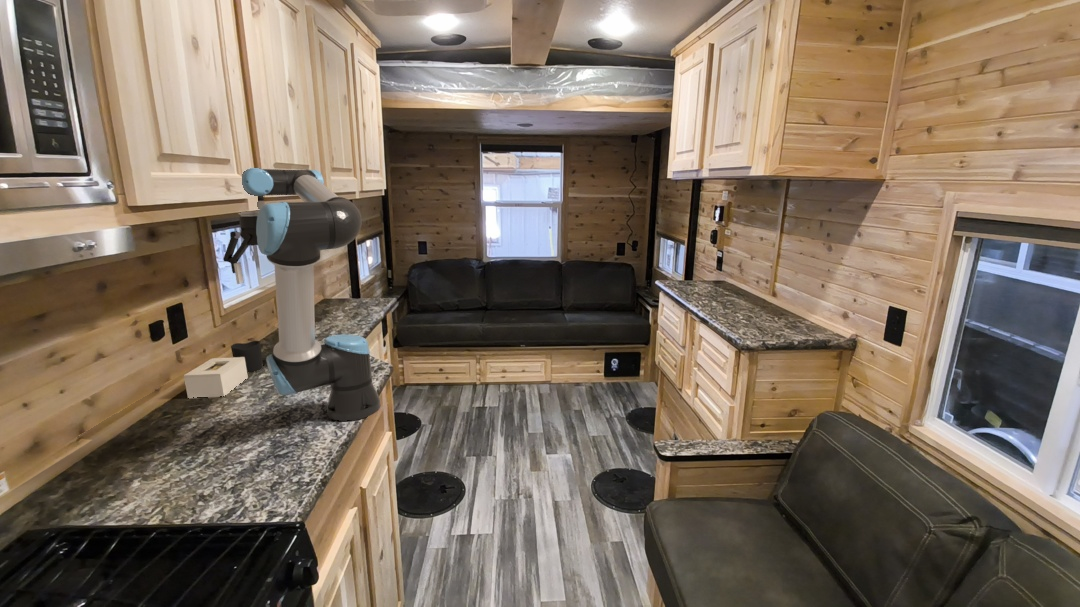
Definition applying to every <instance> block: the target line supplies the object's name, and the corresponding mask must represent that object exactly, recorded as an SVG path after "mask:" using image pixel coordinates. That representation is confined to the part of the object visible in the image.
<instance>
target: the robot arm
mask: <svg viewBox="0 0 1080 607" xmlns="http://www.w3.org/2000/svg"><path fill="white" fill-rule="evenodd" d="M259 168H260V167H259ZM259 168H250V169H247V170H246V171H244V172H243V174H242V185H243V188H244V190H245V191H246V192H247V193H248V194H250V195H254V196H258V202H257V207H258V209H260V210H256V211H247V212H241V213H238V212H237V214H238V215H240V216H239V217H238V220H239V227H240V231H237V230H234V231H231V232H230V237H229V238H230V239H229V241H228V245H227V247H226V250H225V253H224V255H223V259H222V260H223V262H227V263H230V267H231V271H232V274H234V275H235V278H236V279H235V280H236V284H237V285H241V284H243V283H244V281H245V280H244V275H243V269H242V262H240V261H239V260H240V259H241V257H242V256H243V255H244V253H245V252H246V250H247V249H248V248H249V247H251V246H257V247H258V250H259V252H260V253H261V254H263V255H264V256H265V255H266V259H267V261H268V262H269V263H271V264H272V265H274V275H275V276H274V277H275V279H274V280H275V293H276V294H275V296H276V310H277V311H276V312H277V326H278V327H277V328H278V342H277V343H276V344H275V345H274V346H273V349H272V350H273V352H272V353H273V354H271V353H270V354H269V355H267V356H266V359H265V360H266V365H267V369H268V372H269V375H270V377H271V380H272V383H273V385H274V388H275V389H276V392H277V393H278V394H279V395H281V396H288V395H289V396H290V395H294V394H298V393H301V392H306V391H309V390H313V389H317V388H320V387H325V386H328V385H330V392H329V396H328V397H329V398H328V400H327V406H326V413H327V414H326V415H327V417H328V418H329V419H330V420H333V421H337V420H339V421H338V422H348V421H347V420H352V421H358V420H361V419H365V418H368V417H370V416H372V415H374V414H376V413H377V412H378V411H379V410H380V409H381V405H382V404H381V398H380V395H379V394H378V392H377V389H376V388H375V385H374V383H373V379H372V378H373V377H372V376H373V375H372V367H371V357H370V356H371V355H370V353H371V351H370V349H369V341H368V340H367V339H366V338H365V337H363V336H359V335H356V334H335V335H330V336H327V337H325V339H324V343H323V344H321V343H320V342H319V340H317V339H316V324H315V321H316V319H315V278H314V277H315V274H314V273H315V272H314V271H315V270H314V267H315V264H317V263H318V262H319V261H320V260H321V251H324V250H334V249H335V250H336V249H339V248H343V247H345V246H347V245H349V244H350V243H351V242H353V241H354V240H355V239H356V238H357V236H358V235H359V233H360V232H361V228H362V224H363V220H362V219H363V217H362V215H361V214H362V213H361V212H360V209H359V208H358V207H357V206H356V204H355V203H353V202H352V201H351V200H349V199H348V198H346V197H342V196H339V195H337V194H336V193H335V192H333V191H332V190H331V189H330V188H329V187H327V186H326V185H325V180H324V177H323V175H322V173H321V172H320V171H319V170H316V169H315V170H313V169H308V168H307V169H279V168H278V169H275V168H273V169H271V168H267V169H266V168H260V169H259ZM263 196H264V197H263ZM265 196H297V197H298V198H299V199H301V200H302V201H295V202H294V201H292V202H290V201H289V202H288V201H287V202H286V201H279V202H275V203H274V202H273V203H271V202H270V203H267V204H266V201H265ZM240 238H242V239H243V241H242V242H241V243H240V246H239V247H238V249H237V250H236V247H237V245H238V241H239V239H240ZM235 250H236V251H235ZM234 252H235V253H234Z"/></svg>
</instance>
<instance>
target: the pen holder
mask: <svg viewBox="0 0 1080 607" xmlns="http://www.w3.org/2000/svg"><path fill="white" fill-rule="evenodd" d="M230 351H231V354H232V358H233V357H245V363H246V369H247V374H249V373H248V372H251V373H255V372H257V370H258V371H261V370H262V369H261V368H264V367H263V354H262V344H261V341H259V340H252V341H250V342H245V343H241V342H237V343H234V344H231V346H230ZM254 371H255V372H254Z"/></svg>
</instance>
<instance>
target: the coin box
mask: <svg viewBox="0 0 1080 607" xmlns="http://www.w3.org/2000/svg"><path fill="white" fill-rule="evenodd" d="M215 366H222V367H220V368H219V369H217V370H211V369H212V368H214V367H215ZM183 379H184V384H185V390H186V394H187V399H188V398H189V399H198V398H197V397H208V398H220V396H222V397H223V396H224V397H225V395H226V396H227V395H228V394H230V393H231V392H232V391H233V390H234V388H235V387H236V386H237V387H239V386H240V385H241V384H242V383H244V382H245V381H246V380H247V379H249V376H248V373H247V369H246V363H245V357H233V356H232V357H216V358H212V357H211V358H210V359H209V360H207V361H205V362H204V363H202V364H200V365H198V366H196V367H195V368H193V369H192V370H190V371H189V372H187V373H185V374H183ZM245 379H246V380H245ZM244 380H245V381H244ZM243 381H244V382H243ZM240 383H241V384H240ZM239 384H240V385H239ZM237 387H236V388H237ZM236 388H235V389H236ZM231 390H232V391H231ZM230 391H231V392H230ZM193 397H194V398H193ZM222 397H221V398H222Z"/></svg>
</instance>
